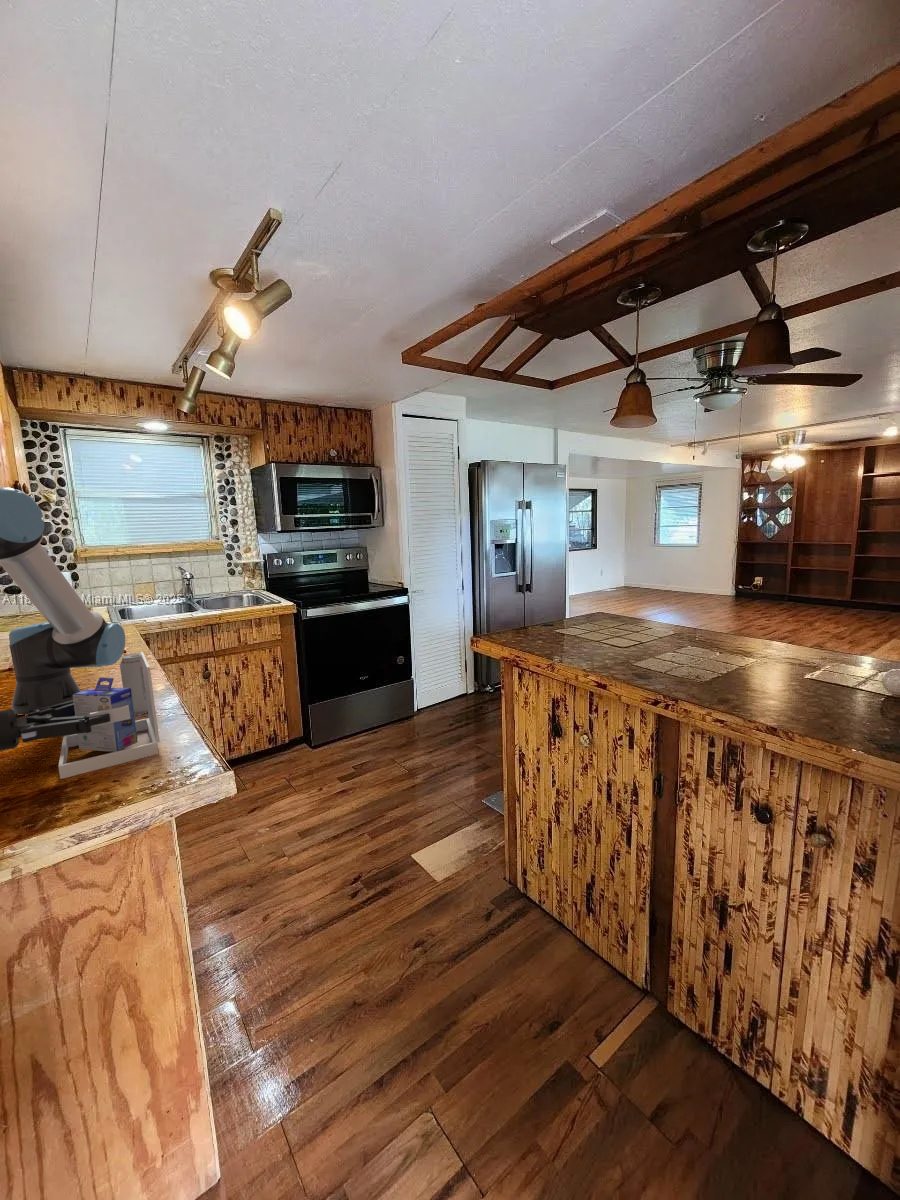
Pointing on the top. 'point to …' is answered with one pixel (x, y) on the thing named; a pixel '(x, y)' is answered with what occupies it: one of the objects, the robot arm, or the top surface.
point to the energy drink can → (134, 681)
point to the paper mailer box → (121, 755)
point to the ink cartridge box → (112, 733)
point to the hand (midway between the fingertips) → (128, 704)
